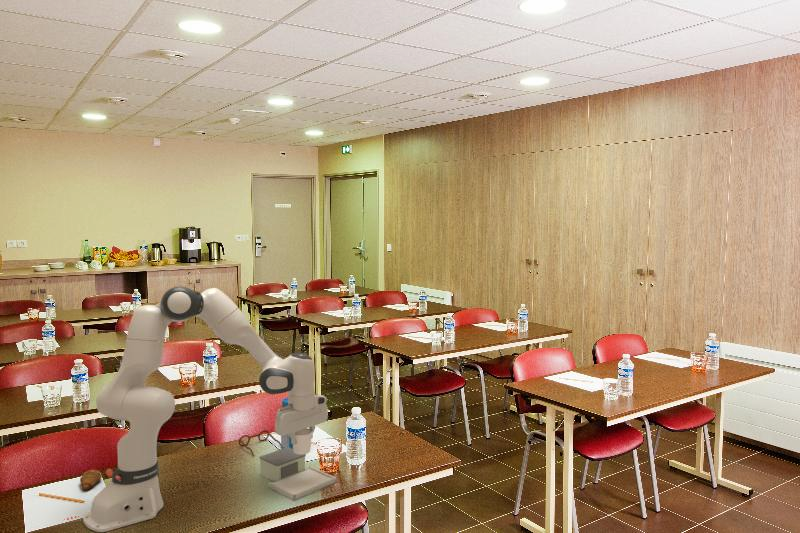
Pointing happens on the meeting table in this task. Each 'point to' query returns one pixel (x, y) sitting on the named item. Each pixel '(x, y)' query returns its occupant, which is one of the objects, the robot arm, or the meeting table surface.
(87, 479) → the croissant
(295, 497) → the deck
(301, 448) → the white cup
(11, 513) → the meeting table surface
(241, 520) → the meeting table surface
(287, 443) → the beverage bottle
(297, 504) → the meeting table surface
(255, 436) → the glasses
